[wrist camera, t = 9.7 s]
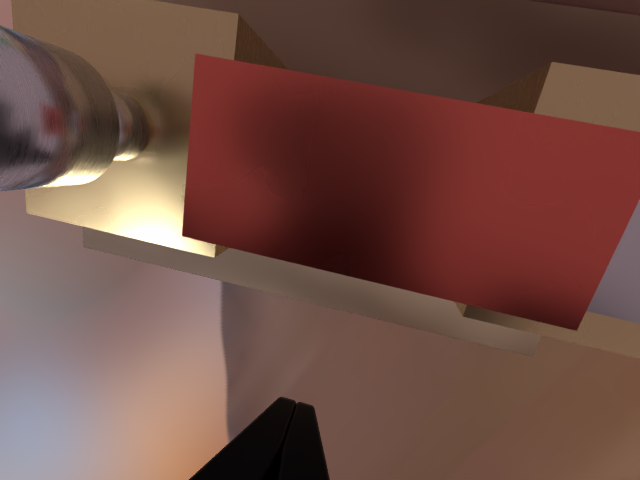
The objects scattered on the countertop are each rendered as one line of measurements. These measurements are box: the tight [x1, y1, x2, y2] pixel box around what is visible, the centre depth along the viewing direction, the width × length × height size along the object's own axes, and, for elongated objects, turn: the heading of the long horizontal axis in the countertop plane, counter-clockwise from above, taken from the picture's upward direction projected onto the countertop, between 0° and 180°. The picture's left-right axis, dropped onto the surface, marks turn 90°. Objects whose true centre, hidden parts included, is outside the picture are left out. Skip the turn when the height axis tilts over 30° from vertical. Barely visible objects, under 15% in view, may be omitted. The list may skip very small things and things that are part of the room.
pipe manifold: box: [0, 0, 640, 359], centre depth 9 cm, size 6×23×10 cm, turn 80°
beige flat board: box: [83, 0, 640, 357], centre depth 14 cm, size 13×22×2 cm, turn 79°
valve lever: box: [182, 53, 640, 331], centre depth 4 cm, size 9×3×2 cm, turn 79°
